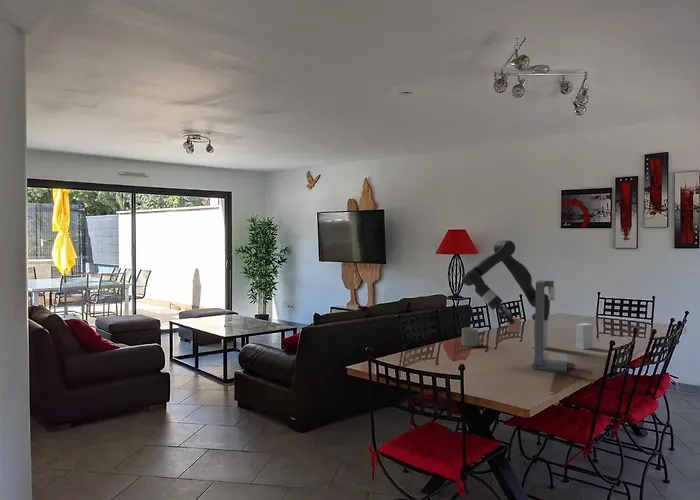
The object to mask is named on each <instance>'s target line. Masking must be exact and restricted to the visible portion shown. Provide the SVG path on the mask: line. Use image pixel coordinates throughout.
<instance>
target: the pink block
mask: <svg viewBox="0 0 700 500" xmlns="http://www.w3.org/2000/svg"><path fill="white" fill-rule="evenodd" d="M511 318H512V319H513V320H514V321H515V322H514V323H513V324H511V323H510V322H509V321H508V320H507V332H509V333H510V332H511V333H520V332H521V328H522V327H521V325H522V323H521V322H522V321H521V319H522V318H521V317H514V316H513V317H511Z"/></svg>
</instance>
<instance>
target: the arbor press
mask: <svg viewBox="0 0 700 500" xmlns="http://www.w3.org/2000/svg"><path fill="white" fill-rule="evenodd" d="M554 284H555V282H554V280H539V279H538V280H536V282H535V290H536V300H535V307H534V308H535V312H534V314H535V348H534V356H533V363H532V367H531V368H532V370H538V371H547V372H549V371H550V372H557V373H567V371H568V370H567V368H568V354H561V353H553V352H552V353H551V352H550V353H549V352H544V350H545V349H544V294H545V288H548V292H547V293H548V294H547V295H548V300H550V301H555V296H556V295H555V293H556V291H555V290H556V289H555V285H554Z"/></svg>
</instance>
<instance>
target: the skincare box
mask: <svg viewBox="0 0 700 500" xmlns="http://www.w3.org/2000/svg"><path fill="white" fill-rule="evenodd" d="M593 329H594V324H592V323H588V322H582V323H576V324H575V348H576V349H579V350H588V349H592V348H593V334H594V332H593V331H594V330H593Z"/></svg>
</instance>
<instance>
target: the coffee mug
mask: <svg viewBox="0 0 700 500" xmlns="http://www.w3.org/2000/svg"><path fill="white" fill-rule="evenodd" d="M461 345H462V346H463V347H472V348H473V347H478V346H479V328H476V327H463V328H461Z"/></svg>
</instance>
